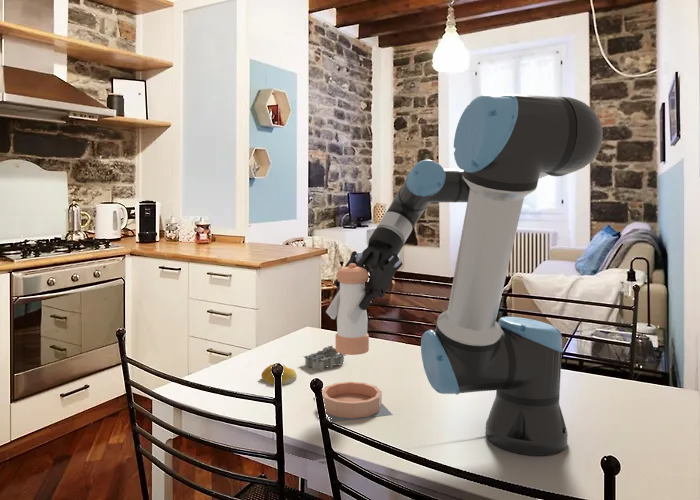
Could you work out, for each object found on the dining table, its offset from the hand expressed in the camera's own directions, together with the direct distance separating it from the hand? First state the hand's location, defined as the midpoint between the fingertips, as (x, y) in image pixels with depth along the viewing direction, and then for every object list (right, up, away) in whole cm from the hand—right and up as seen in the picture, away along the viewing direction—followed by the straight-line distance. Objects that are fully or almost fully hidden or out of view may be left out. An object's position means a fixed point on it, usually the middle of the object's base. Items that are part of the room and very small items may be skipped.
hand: (340, 317), depth 117 cm
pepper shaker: (+3, -8, +4) cm, 9 cm away
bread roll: (-16, -19, +22) cm, 33 cm away
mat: (+2, -20, +5) cm, 21 cm away
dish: (+2, -20, +5) cm, 21 cm away
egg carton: (-5, -18, +36) cm, 40 cm away
